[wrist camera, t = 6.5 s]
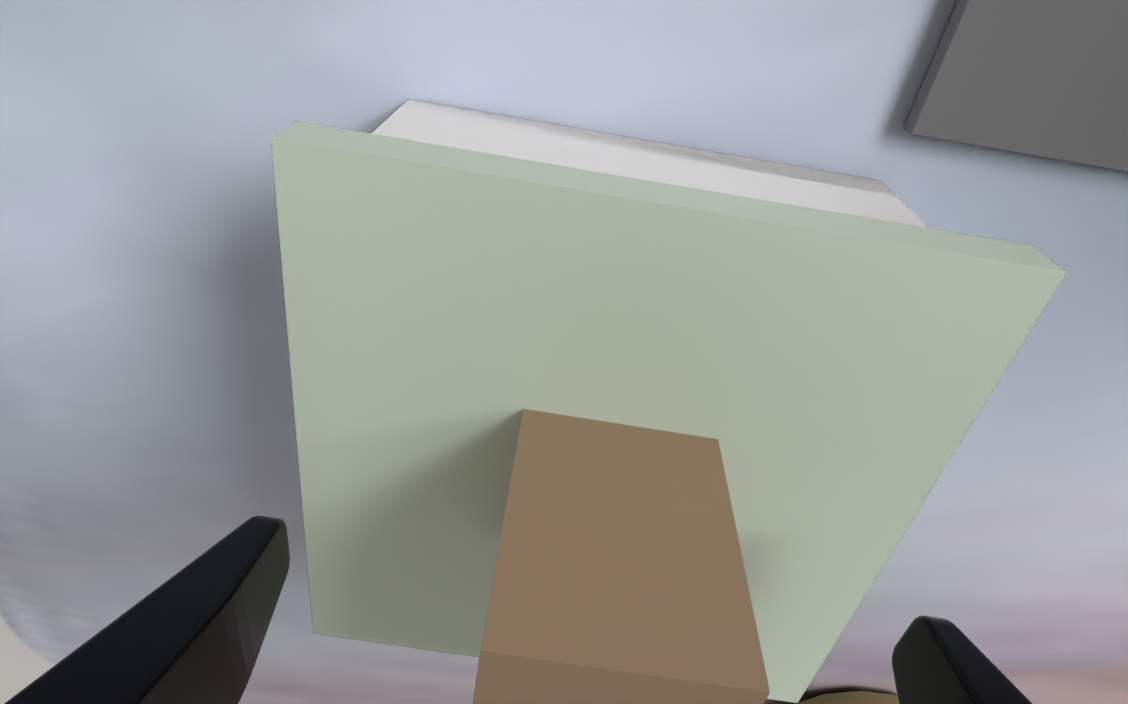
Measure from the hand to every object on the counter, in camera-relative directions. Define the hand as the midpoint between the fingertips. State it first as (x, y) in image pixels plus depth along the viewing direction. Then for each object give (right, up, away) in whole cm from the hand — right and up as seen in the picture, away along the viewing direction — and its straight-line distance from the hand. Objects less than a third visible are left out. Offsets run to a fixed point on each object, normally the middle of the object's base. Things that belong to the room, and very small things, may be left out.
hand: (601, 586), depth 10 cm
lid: (0, +1, +2) cm, 3 cm away
